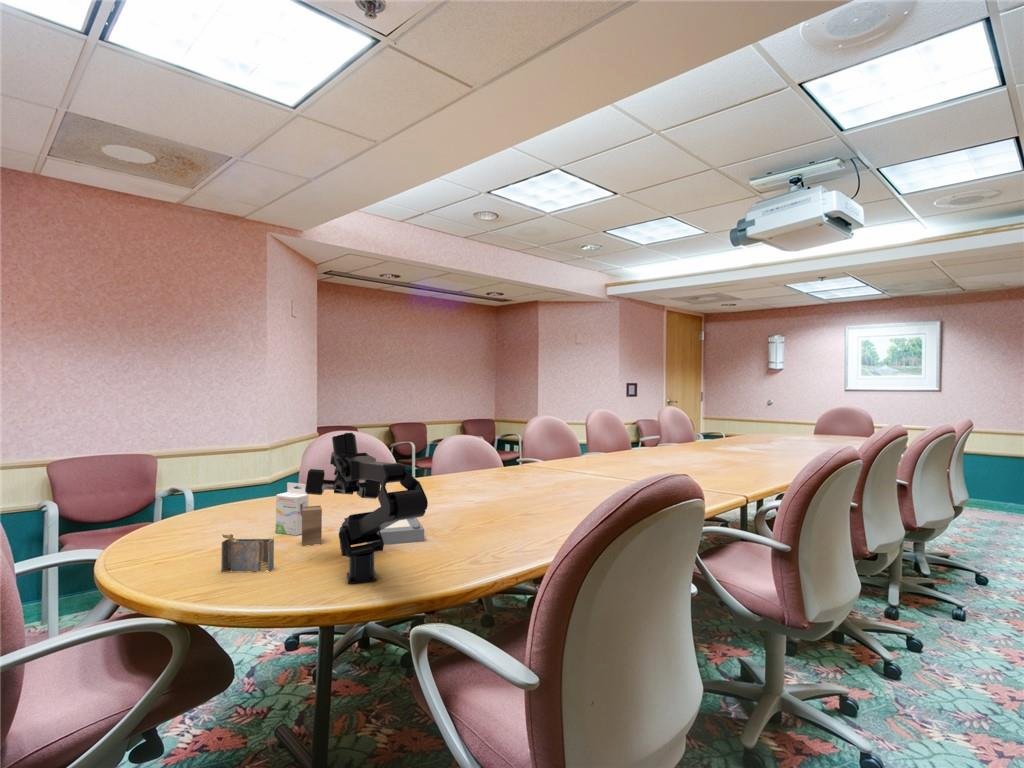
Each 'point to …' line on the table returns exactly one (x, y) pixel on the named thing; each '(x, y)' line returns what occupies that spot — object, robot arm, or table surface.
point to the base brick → (403, 532)
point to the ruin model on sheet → (247, 554)
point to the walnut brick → (311, 525)
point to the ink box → (290, 509)
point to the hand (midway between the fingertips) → (340, 490)
